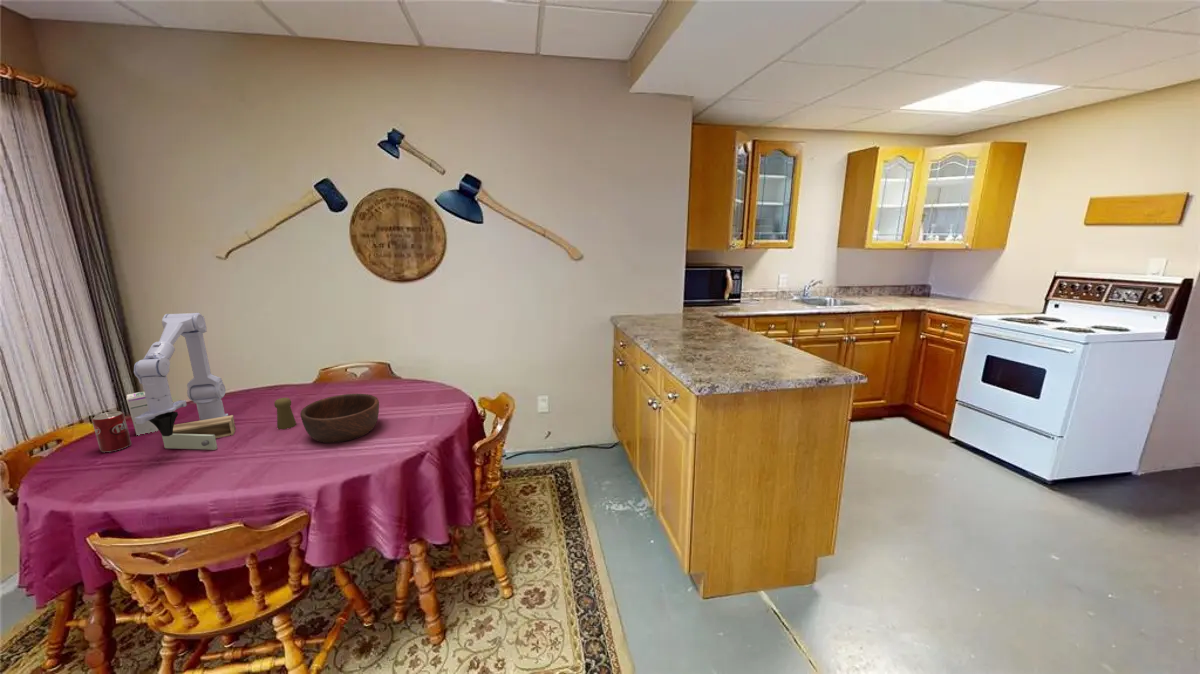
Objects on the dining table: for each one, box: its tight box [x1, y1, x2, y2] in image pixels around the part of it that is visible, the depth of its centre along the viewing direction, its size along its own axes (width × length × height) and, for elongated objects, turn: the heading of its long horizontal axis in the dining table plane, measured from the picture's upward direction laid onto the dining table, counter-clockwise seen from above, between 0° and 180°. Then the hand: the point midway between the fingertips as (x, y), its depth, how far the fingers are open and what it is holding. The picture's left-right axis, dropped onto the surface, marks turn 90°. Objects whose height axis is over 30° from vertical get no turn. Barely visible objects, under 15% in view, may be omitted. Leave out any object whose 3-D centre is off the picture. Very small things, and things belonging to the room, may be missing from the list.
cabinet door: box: [161, 434, 218, 451], centre depth 150 cm, size 2×18×5 cm, turn 88°
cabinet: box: [173, 414, 237, 439], centre depth 159 cm, size 6×18×6 cm, turn 123°
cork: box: [274, 397, 297, 430], centre depth 168 cm, size 6×6×11 cm
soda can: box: [91, 411, 132, 453], centre depth 150 cm, size 7×7×12 cm
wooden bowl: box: [300, 393, 380, 444], centre depth 165 cm, size 25×25×10 cm
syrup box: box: [126, 390, 159, 436], centre depth 162 cm, size 6×6×14 cm
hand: (167, 435), depth 144 cm, fingers closed
